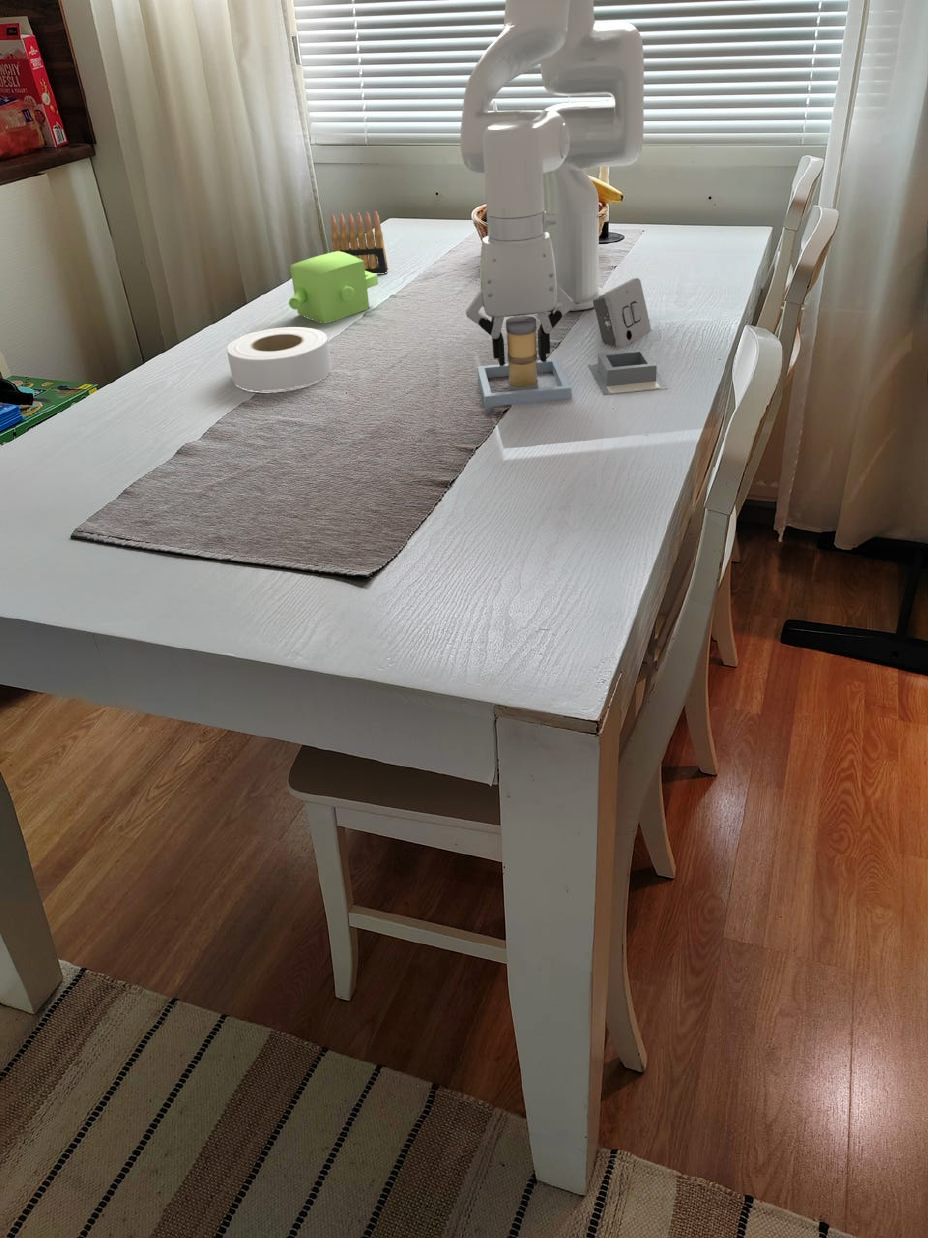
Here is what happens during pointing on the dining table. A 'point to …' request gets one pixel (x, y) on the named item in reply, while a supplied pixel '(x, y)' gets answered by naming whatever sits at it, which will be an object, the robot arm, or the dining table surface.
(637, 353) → the grey square socket holder
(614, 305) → the electrical switch
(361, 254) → the ammunition clip
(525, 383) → the fuse
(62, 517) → the dining table surface
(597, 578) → the dining table surface
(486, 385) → the tray
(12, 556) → the dining table surface
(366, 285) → the gearbox
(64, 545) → the dining table surface
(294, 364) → the roll of tape
